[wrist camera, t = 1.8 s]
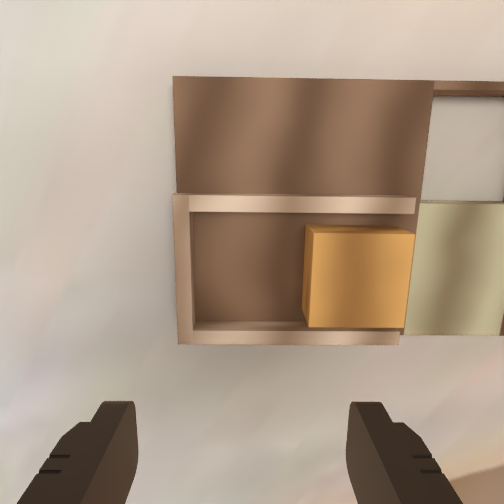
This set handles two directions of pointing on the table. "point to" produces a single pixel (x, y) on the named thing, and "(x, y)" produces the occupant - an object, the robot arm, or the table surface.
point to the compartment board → (319, 206)
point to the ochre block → (356, 275)
